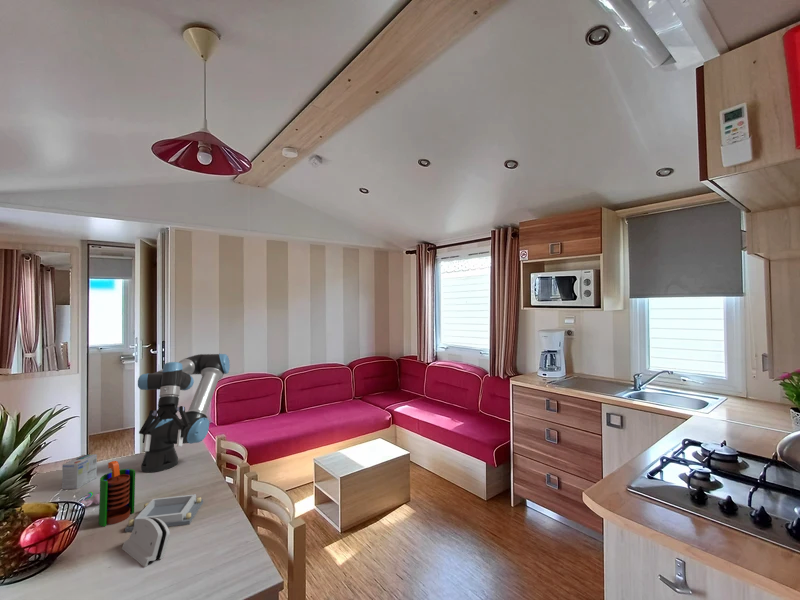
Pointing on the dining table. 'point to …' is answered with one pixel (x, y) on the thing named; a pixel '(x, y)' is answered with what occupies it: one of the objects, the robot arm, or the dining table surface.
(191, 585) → the dining table surface
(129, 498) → the motor
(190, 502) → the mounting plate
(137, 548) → the grey arched block
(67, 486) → the light bulb box
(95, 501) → the rabbit figure
